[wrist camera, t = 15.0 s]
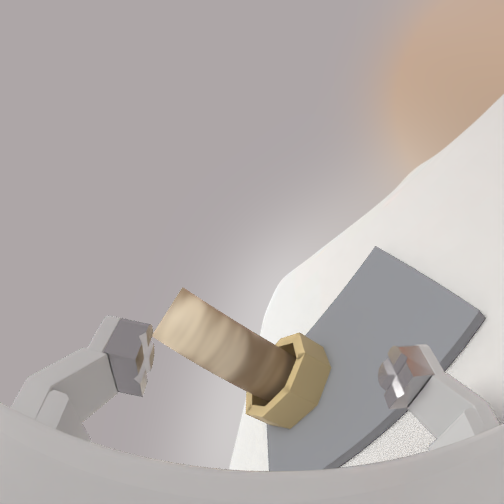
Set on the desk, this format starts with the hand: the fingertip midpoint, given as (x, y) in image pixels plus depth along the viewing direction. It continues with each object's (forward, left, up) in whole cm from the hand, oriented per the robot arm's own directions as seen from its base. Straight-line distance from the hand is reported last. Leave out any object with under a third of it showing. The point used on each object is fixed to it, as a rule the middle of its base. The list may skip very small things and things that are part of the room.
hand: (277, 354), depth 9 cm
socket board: (+12, +4, -11) cm, 17 cm away
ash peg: (+14, +9, -10) cm, 20 cm away
